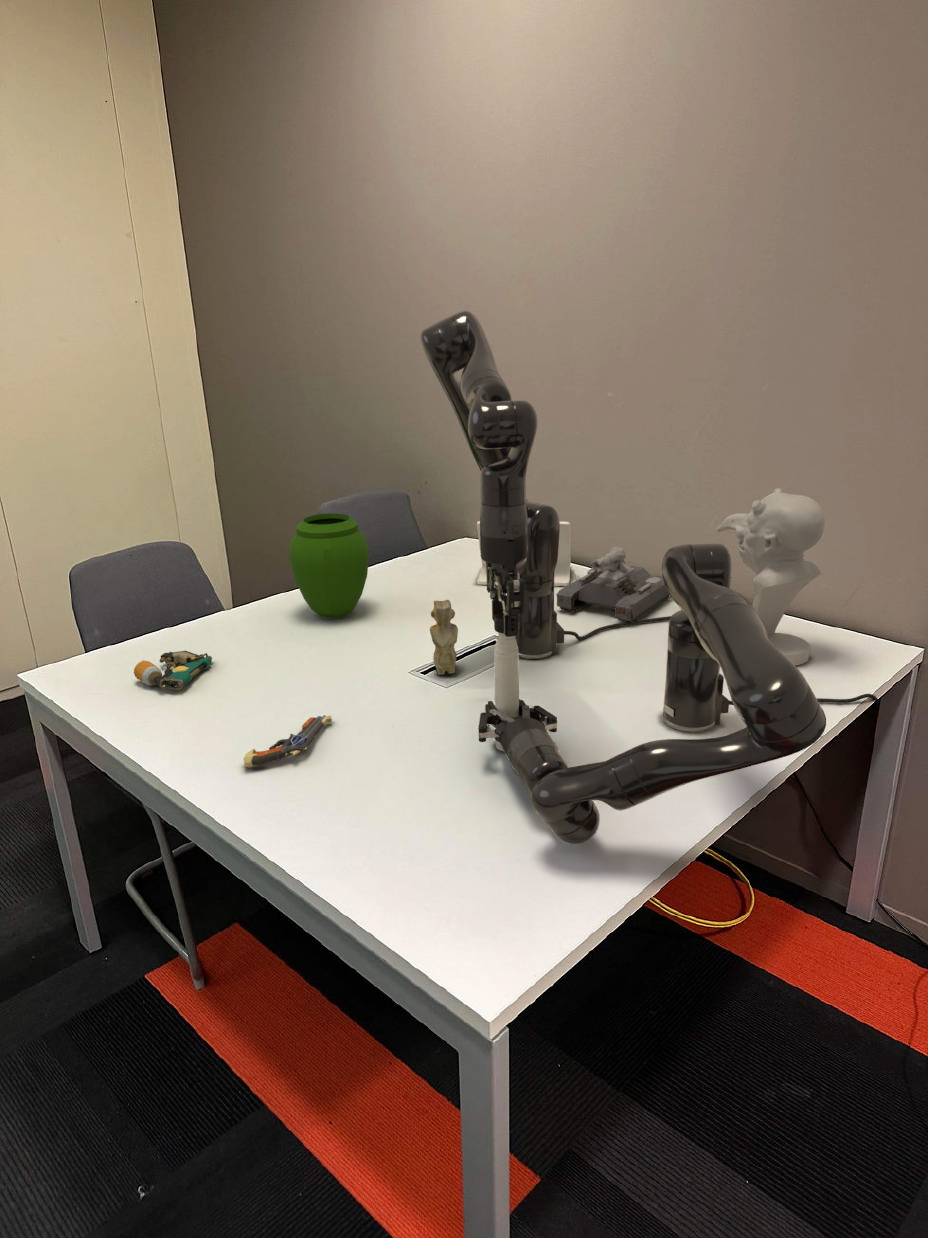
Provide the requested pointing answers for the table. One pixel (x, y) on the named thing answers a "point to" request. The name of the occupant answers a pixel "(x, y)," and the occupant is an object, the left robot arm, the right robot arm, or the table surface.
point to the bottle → (506, 677)
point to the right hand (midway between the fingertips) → (503, 704)
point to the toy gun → (288, 743)
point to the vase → (329, 563)
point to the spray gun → (172, 669)
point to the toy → (615, 588)
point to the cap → (499, 622)
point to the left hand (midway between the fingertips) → (504, 627)
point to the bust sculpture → (779, 558)
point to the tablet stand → (562, 564)
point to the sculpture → (444, 637)
